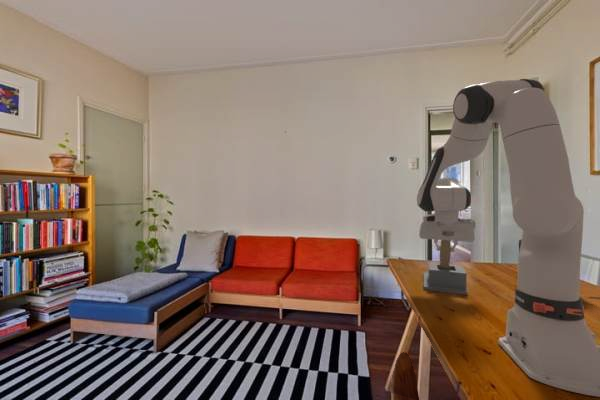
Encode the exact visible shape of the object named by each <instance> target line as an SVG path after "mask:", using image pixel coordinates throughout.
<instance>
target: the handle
mask: <svg viewBox="0 0 600 400" xmlns="http://www.w3.org/2000/svg"><path fill="white" fill-rule="evenodd" d="M442 235H444V236H453V235H454V232H445V231H442ZM440 246H441V251H439V262H440V263H439V264H440V266H441V267H444V268H448V267H449V265H450V263H451V262H450V261H451V253H452V252H450V250H451V249H450V247H452V246H451V241H449V240H440Z"/></svg>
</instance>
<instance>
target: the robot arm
mask: <svg viewBox="0 0 600 400" xmlns="http://www.w3.org/2000/svg"><path fill="white" fill-rule="evenodd" d="M452 107H453V108H452V111H453V115H454V120H453V123H452V126H451V131H450V135H449V137H448V139H447V141H446V142H445V143H444V144H443V146H441V147H439V148H437V149H436V151H435V153H434V155H433V157H432V159H431V162H430V164H429V167H428V169H427V172H426V174H425V177H424V180H423V182H422V183H421V185H420V188H419V190H418V192H417V194H416V204H417V207H419V208H420V209H421V210H422V211H424V212H425V213H426V212H429V214H426V215H423V216H422V220H423V221H422V222H421V224H420V226H419V227H420V228H419V235H418V236H419V238H420V239H423V240H433V243H434V244H435V246H436V251H438V252H440V251H441V245H439V244H438V242H439V241H441V240H449V241H452V243H453V245H452V246H451V247H450V249H451V250H450V252H451V253H454V252H455V248H456V247H457V246H458V244H459V242H466V243H467V242H468V243H473V242H474V241H475V229H476V222H475V220H473V219H471V218H461V217H459V216H460V215H459V212H463V211H466V210H467V209H468V208H469V207H470V206H471V203H472V193H471V191H470V190H469V189H468V188H467V187H465V186H462V185H460V184H459V180H458V179H457V178H453V177H444V178H441V176H442V174H443V172H445V170H446V169H448V168H450V167H452V166H454V165H458V164H462V163H465V162H469V161H471V160H473V159H475V158H477V157H479V156H480V155H481V154H483V152H484V150H485V149H486V146H487V143H488V141H489V137H490V133H491V130H492V126H493V123H494V124H495V123H497V124H498V126H499V128H500V134H501V139H502V144H503V147H504V148H503V149H504V153H505V156H506V162H507V167H508V173H509V186H510V187H509V189H510V198H511V207H512V217H513V220H514V222H515V224H516V225H517V226H518V227H519V229H520V230H522V235H521V239H522V240H521V239H520V240H521V246H520V251H519V250H518V257H517V286H516V287H515V291H514V295H513V296H514V302H515V304H514V306H513V307H512V308H510V309H509V310H507V315H506V325H505V326H506V327H505V336H502V337H498V340H497V343H498V345H499V346H500V347H502V349H503V350H504V352H506V353H507V354H508V355H509V357H510V358H511V359H513V361H514V362H515V363H516V364H517V365H518V366H519V368H520V369H522V371H523V372H524V373H525V374H526V375H527V377H529V378H531V379H532V380H534V381H538V382H539V383H542V384H545V385H547V386H551V387H554V388H557V389H560V390H563V391H564V390H565V391H568V392H572V393H577V394H582V395H586V396H592V397H597V398H600V345H597V344H596V341H595V340H596V334H595V333H594V332H591V331H590V329H589V327H588V325H587V323H586V321H585V320H584V318H585V307H584V305H583V301H582V300H583V299H582V298H580V290H581V289H580V285H581V260H582V249H583V248H582V246H583V244H582V243H583V233H584V232H583V230H584V216H585V215H584V212H585V211H584V206H583V203H582V201H581V200H580V199H579V198H578V197H577V196H576V194H575V188H574V184H573V179H572V174H571V167H570V160H569V156H568V152H567V151H568V150H567V148H566V147H567V146H566V144H565V143H566V142H565V139H564V136H563V133H562V128H561V124H560V120H559V117H558V114H557V112H556V110H555V107H554V104H553V103H552V101H551V99H550V97H549V96H548V93H547V92H546V91H545V88H544V86H543V84H542V83H541V82H540V81H538V80H536V79H531V78H520V79H515V80H514V79H512V80H511V79H510V80H494V81H489V82H484V83H480V84H478V83H477V84H471V85H469V86H466V87H463V88H461V89H460V90H459V91H458V92H457V94H456V96H455V98H454V101H453V105H452ZM430 212H433V213H430ZM442 231H445V232H454V235H453V236H444V235H442Z"/></svg>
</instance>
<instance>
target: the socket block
mask: <svg viewBox="0 0 600 400" xmlns="http://www.w3.org/2000/svg"><path fill="white" fill-rule="evenodd" d="M467 280H468V279H467V271H466V270H465V268H464V266H463V265H459V264H449V267H448V268H444V267H441V266H440V263H437V262H436V263H435V262H428V272H424V271H423V290H424V291H430V292H431V291H432V292H440V293H449V294H456V295H463V296H464V295H465V296H468V294H469V292H468V289H467Z"/></svg>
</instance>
